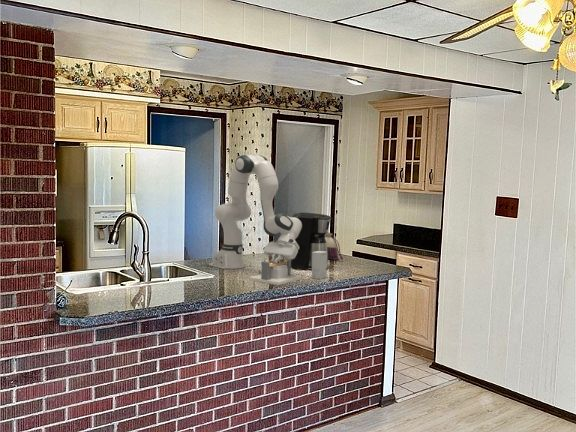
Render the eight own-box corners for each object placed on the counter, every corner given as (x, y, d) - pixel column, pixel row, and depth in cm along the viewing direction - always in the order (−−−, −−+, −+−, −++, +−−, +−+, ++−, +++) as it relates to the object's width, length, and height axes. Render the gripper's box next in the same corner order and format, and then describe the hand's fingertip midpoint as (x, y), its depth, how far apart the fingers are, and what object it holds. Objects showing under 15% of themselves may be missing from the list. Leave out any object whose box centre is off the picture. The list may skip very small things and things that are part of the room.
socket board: (248, 279, 296) (249, 260, 295) (273, 274, 314) (273, 255, 313) (278, 285, 285) (278, 264, 284) (301, 278, 302) (302, 259, 302)
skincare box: (320, 279, 303) (321, 252, 301) (310, 278, 306) (311, 251, 304) (327, 277, 310) (327, 251, 309) (317, 275, 313) (318, 250, 312)
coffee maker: (332, 271, 328) (334, 215, 325) (279, 271, 324) (280, 214, 321) (324, 264, 350) (326, 212, 347) (275, 264, 346) (276, 211, 343)
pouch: (309, 258, 374) (309, 230, 372) (315, 256, 381) (315, 229, 379) (341, 262, 361) (342, 233, 359) (347, 260, 367) (348, 232, 366)
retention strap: (284, 262, 307) (284, 261, 307) (288, 263, 306) (288, 262, 306) (264, 266, 293) (264, 265, 293) (269, 267, 291) (269, 266, 291)
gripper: (268, 237, 308) (256, 256, 301) (297, 241, 297) (286, 261, 290) (272, 244, 312) (261, 263, 305) (302, 248, 301) (291, 268, 294)
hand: (273, 262), depth 297 cm, fingers closed
